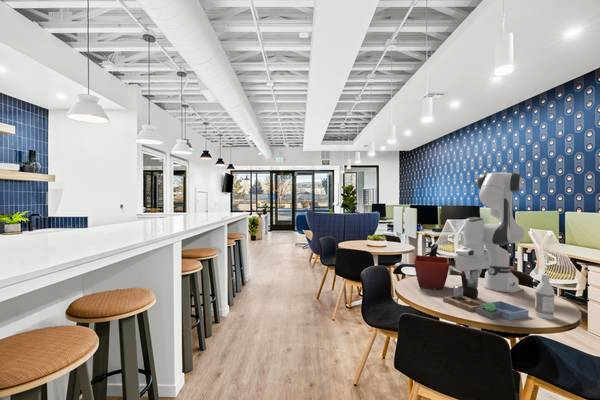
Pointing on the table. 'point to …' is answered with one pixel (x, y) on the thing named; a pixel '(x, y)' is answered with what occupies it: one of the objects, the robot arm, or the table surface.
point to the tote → (510, 310)
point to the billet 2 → (473, 279)
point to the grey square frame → (488, 313)
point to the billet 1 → (458, 293)
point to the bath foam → (544, 298)
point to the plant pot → (431, 271)
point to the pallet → (464, 303)
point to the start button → (490, 307)
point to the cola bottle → (468, 288)
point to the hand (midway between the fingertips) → (472, 278)
